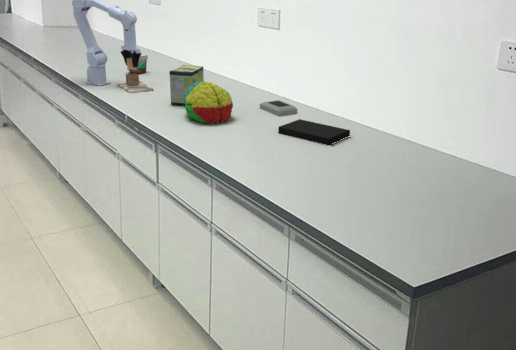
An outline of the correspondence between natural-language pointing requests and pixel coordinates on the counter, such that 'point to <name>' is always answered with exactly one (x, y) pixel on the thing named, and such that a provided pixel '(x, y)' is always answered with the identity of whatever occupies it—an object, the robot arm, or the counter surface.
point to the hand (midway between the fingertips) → (131, 66)
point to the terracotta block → (130, 65)
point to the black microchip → (313, 131)
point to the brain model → (208, 103)
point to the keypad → (278, 108)
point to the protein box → (183, 82)
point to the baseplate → (124, 86)
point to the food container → (140, 66)
